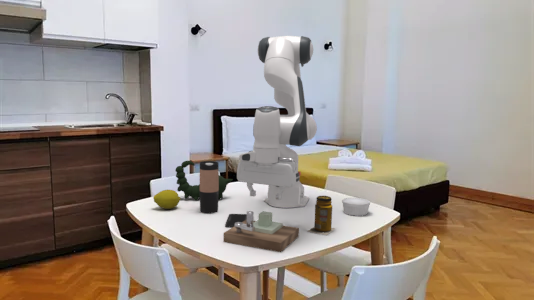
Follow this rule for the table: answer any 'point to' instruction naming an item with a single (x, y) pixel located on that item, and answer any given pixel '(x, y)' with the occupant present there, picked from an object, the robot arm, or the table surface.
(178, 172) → the toy figurine
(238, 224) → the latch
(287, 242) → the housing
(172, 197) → the lemon
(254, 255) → the table surface
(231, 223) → the phone
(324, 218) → the condiment
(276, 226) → the cover
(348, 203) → the ramekin
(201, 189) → the travel mug
